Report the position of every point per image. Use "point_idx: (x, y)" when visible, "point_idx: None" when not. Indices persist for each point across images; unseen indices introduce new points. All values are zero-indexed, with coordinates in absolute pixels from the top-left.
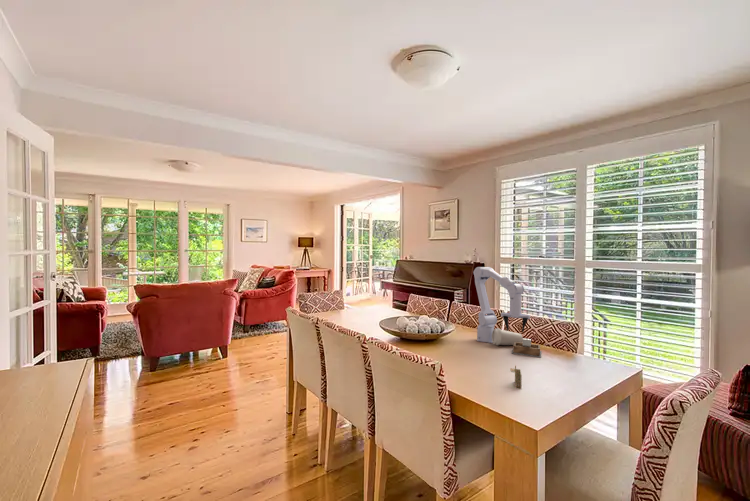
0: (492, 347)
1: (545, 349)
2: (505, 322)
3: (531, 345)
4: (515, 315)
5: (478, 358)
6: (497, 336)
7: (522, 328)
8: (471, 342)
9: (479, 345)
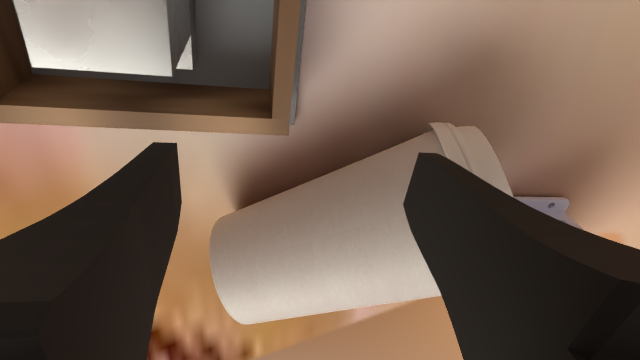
0: (484, 71)
1: (8, 205)
2: (565, 226)
3: (90, 104)
4: None
5: None
6: (488, 149)
7: (150, 171)
8: (622, 150)
9: (587, 88)
